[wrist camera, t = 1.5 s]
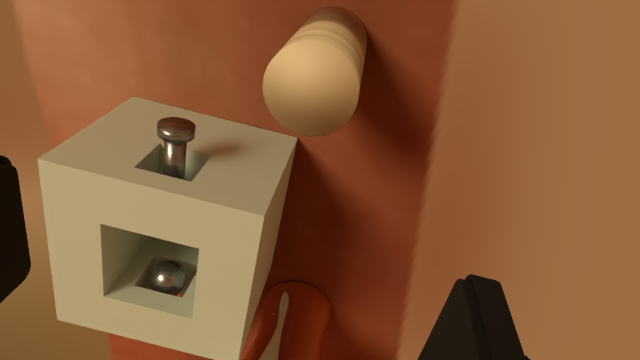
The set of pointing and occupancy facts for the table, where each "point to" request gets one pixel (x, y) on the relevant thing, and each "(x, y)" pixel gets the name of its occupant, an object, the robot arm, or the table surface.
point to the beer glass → (291, 323)
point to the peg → (318, 74)
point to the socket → (164, 226)
